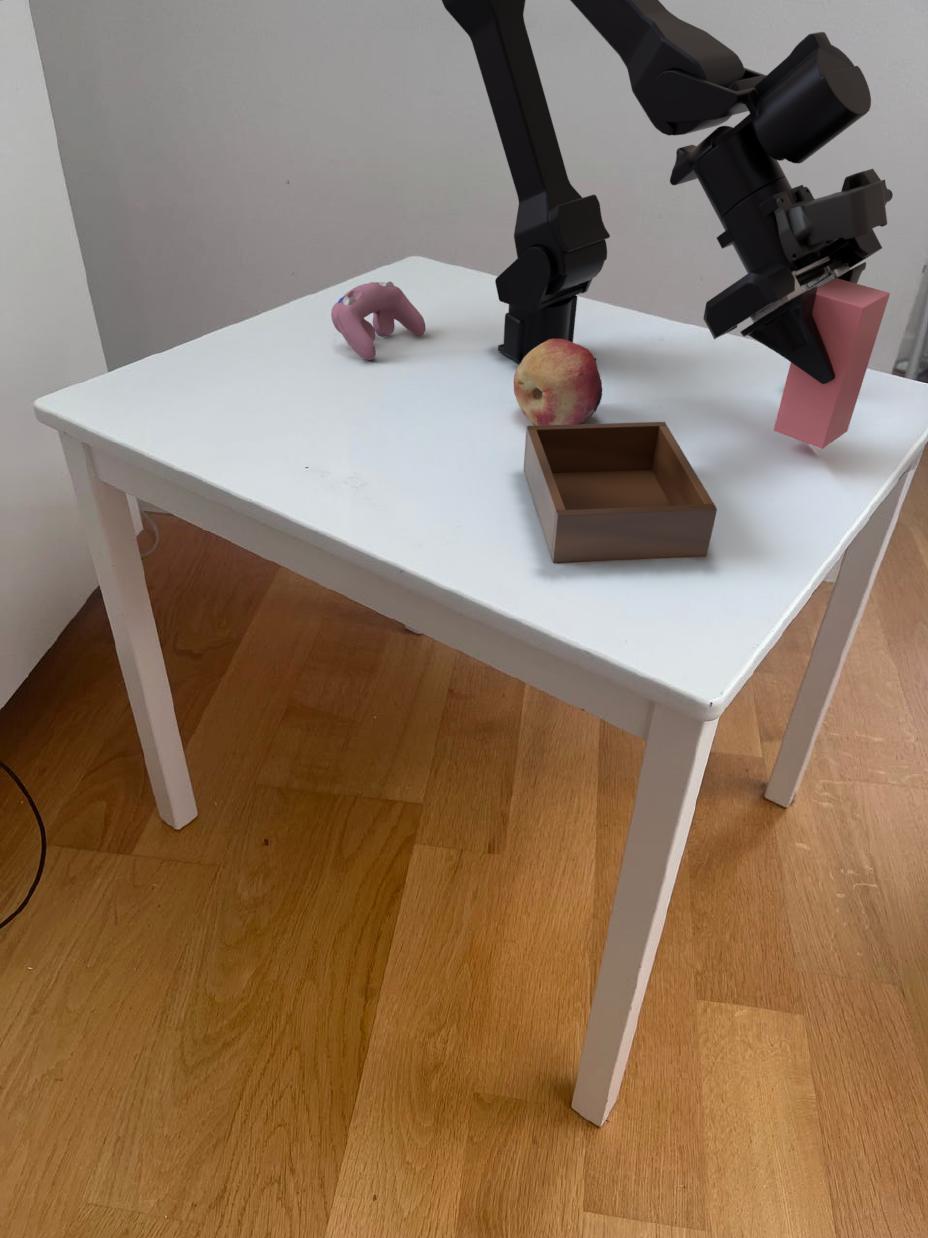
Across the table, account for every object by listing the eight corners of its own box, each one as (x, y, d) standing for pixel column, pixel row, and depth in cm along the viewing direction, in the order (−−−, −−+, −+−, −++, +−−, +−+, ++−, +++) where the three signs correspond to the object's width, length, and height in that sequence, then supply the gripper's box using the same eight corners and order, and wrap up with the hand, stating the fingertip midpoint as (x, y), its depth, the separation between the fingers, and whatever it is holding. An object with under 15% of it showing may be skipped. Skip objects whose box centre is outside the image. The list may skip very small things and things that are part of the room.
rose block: (772, 430, 81) (808, 291, 73) (798, 413, 83) (835, 277, 76) (822, 449, 78) (864, 307, 71) (847, 431, 81) (890, 292, 73)
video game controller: (402, 340, 104) (379, 277, 102) (432, 331, 101) (408, 265, 99) (343, 369, 98) (316, 302, 96) (372, 360, 95) (345, 291, 92)
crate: (522, 478, 78) (526, 425, 75) (656, 473, 79) (664, 421, 76) (552, 571, 68) (557, 515, 65) (705, 564, 69) (717, 508, 66)
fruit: (502, 412, 88) (506, 328, 83) (580, 405, 89) (589, 322, 84) (527, 452, 82) (533, 364, 77) (610, 443, 83) (621, 357, 78)
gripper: (775, 153, 63) (882, 359, 65) (893, 117, 74) (983, 293, 75) (659, 246, 73) (755, 424, 74) (779, 201, 83) (861, 358, 84)
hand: (843, 372), depth 77 cm, fingers closed on rose block, 4 cm apart
